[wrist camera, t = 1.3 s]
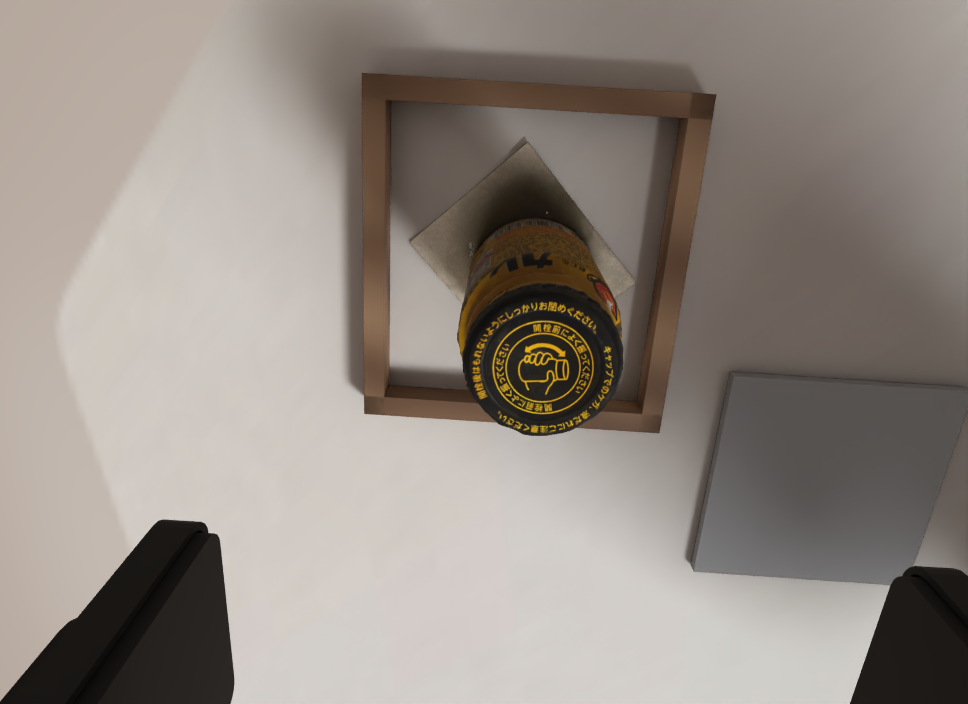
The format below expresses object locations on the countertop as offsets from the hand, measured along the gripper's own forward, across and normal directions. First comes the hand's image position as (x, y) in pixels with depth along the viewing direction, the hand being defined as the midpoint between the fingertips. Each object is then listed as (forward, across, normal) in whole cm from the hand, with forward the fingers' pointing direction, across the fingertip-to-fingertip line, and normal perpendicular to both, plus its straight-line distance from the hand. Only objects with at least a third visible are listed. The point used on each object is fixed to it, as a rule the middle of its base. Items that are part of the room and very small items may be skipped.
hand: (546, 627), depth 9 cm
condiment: (+24, 0, 0) cm, 24 cm away
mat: (+24, -18, +11) cm, 32 cm away
